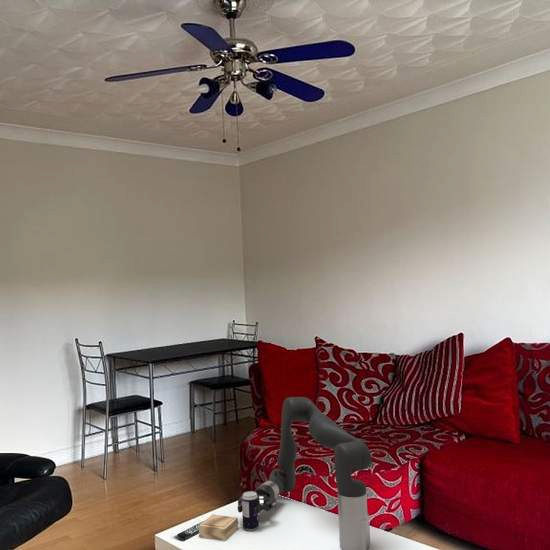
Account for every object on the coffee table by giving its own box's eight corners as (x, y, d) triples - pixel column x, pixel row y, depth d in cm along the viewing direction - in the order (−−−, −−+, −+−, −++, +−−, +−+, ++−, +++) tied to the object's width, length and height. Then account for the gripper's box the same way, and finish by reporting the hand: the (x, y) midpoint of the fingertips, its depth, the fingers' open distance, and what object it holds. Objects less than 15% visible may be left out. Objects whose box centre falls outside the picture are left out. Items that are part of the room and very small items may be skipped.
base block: (238, 529, 200) (237, 516, 201) (225, 540, 191) (224, 527, 191) (213, 525, 204) (212, 513, 204) (199, 537, 195) (198, 524, 195)
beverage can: (256, 531, 198) (255, 497, 198) (241, 531, 199) (239, 496, 199) (260, 525, 203) (259, 491, 203) (245, 524, 204) (244, 490, 205)
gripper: (248, 482, 217) (228, 497, 202) (283, 485, 212) (265, 502, 196) (249, 502, 217) (229, 519, 201) (284, 506, 212) (266, 524, 196)
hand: (247, 510), depth 199 cm, fingers closed on beverage can, 5 cm apart
